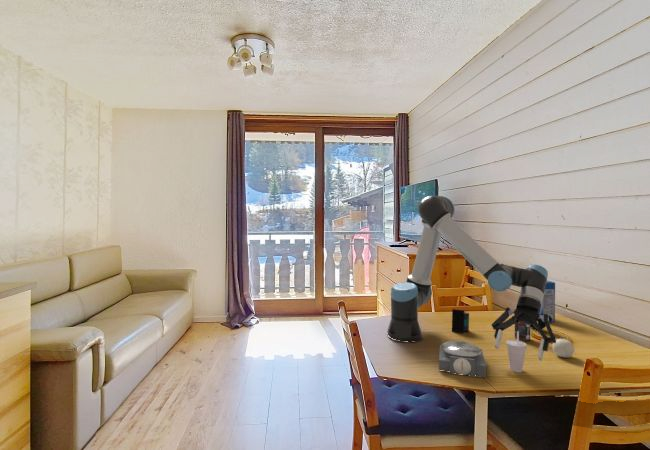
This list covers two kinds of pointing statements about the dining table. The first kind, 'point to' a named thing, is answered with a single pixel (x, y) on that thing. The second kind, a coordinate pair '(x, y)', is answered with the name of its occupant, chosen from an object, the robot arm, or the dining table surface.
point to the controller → (541, 322)
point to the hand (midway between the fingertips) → (517, 352)
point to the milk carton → (549, 300)
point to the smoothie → (516, 354)
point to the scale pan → (461, 349)
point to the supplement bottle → (522, 331)
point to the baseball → (563, 348)
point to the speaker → (460, 321)
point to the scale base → (462, 364)
